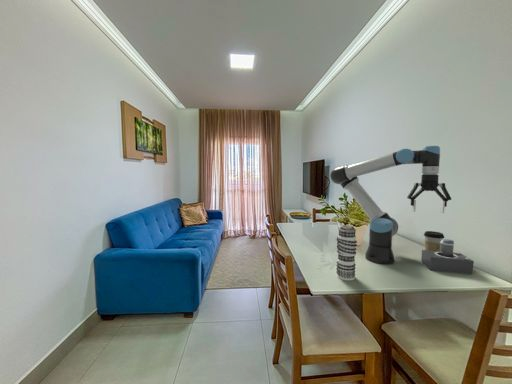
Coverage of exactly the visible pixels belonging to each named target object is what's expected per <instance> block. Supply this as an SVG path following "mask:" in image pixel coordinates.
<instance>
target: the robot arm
mask: <svg viewBox="0 0 512 384" xmlns="http://www.w3.org/2000/svg"><path fill="white" fill-rule="evenodd" d="M440 157H441V147H440V146H439V145H428V146H427V145H426V146H423V149H420V150H412V149H411V148H402V149H400V150H398V151H395V152H392V153H389V154H384V155H381V156H378V157H375V158H370V159H367V160H364V161H361V162H358V163H357V162H356V163H353V164H351V165H349V164H345V165H342V166H341V165H340V166H336V167H335V168H333V169H332V170H331V171H330V175H329V176H330V180H331V181H332V182H333V183H334V184H336V185H340V187H341V188H342V189H343V190H347V192H348V193H349V194H350V195H351V196H352V198H353V199H354V201H355V202H356V203H357V204H358V205H359V207H360V208H361V209H362V210H363V212H364V213H365V214H366V215H367V217H368V218H369V234H368V236H369V238H368V240H369V242H368V247H367V249H366V252H365V254H364V255H365V259H366V260H367V261H369V262H372V263H376V264H382V265H391V264H394V263H395V255H394V251H393V248H392V244H393V236H395V235H397V233H398V231H399V224H398V222H397V220H396V219H395V218H393V217H391V216H390V214H389V213H388V212H386V211H383V210H382V209H381V208H380V207H379V206H378V204H377V203H376V201H374V200H373V198H372V197H371V196H370V195H369V193H368V192H367V191H366V189H365V188H364V187H363V186H362V185H361V183H360V182H359V179H360V178H359V177H360V176H363V175H367V174H371V173H374V172H375V173H376V172H378V171H382V170H386V169H389V168H393V167H397V166H401V165H417V164H419V165H420V164H421V174H422V175H421V182H415V183H414V185H413V187H412V188H411V191H410V192H409V193H408V195H407V196H406V198H407V199H409V200H410V206H412V208H411V210H412V212H413V213H414V212H416V206H417V204H416V203H417V200H416V199H417V198H418V197H419V196H420V195H421V194H422V193H423V192H435V193H436V195H437V196H438V197H439V198H440V199H441V200H440V213H441V214H445V208H446V207H447V203H448V201H451V200H452V197H451V195H450V193H449V191H448V190H447V188H446V183H444V182H441V183H439V172H440V162H441V161H440V159H441V158H440ZM419 187H421V188H419ZM438 187H440V189H441V190H442V192H443V193H442V192H441V191H440V190H439V188H438ZM418 188H419V190H418ZM416 191H417V192H416Z"/></svg>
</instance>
